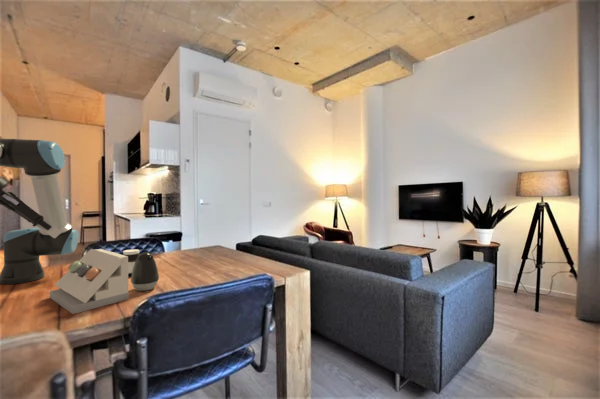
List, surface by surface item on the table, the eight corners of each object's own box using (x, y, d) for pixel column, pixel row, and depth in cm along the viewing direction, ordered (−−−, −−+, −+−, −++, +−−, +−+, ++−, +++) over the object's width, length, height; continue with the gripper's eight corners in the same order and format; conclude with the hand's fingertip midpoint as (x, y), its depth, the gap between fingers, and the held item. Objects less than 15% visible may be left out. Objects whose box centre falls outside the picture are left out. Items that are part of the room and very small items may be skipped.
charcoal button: (74, 276, 108) (74, 264, 108) (88, 274, 111) (88, 262, 111) (78, 278, 105) (78, 266, 105) (93, 275, 109) (92, 263, 109)
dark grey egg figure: (140, 295, 114) (139, 256, 113) (125, 290, 119) (125, 253, 119) (164, 288, 122) (164, 251, 122) (150, 283, 128) (149, 249, 128)
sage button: (66, 272, 113) (66, 261, 113) (80, 270, 116) (80, 259, 116) (70, 274, 110) (70, 262, 110) (84, 272, 114) (84, 260, 114)
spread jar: (144, 274, 143) (144, 250, 143) (120, 279, 134) (120, 254, 134) (131, 270, 150) (131, 247, 150) (107, 275, 140) (107, 251, 140)
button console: (49, 297, 110) (49, 254, 110) (101, 286, 124) (101, 247, 124) (72, 314, 96) (72, 263, 95) (128, 299, 109) (128, 255, 109)
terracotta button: (83, 280, 103) (82, 268, 103) (97, 277, 106) (97, 265, 106) (87, 282, 100) (87, 269, 100) (102, 279, 104) (102, 267, 104)
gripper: (-36, 191, 83) (41, 242, 97) (-29, 191, 75) (53, 246, 89) (-9, 173, 87) (61, 224, 101) (0, 172, 80) (74, 227, 93)
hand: (57, 234), depth 95 cm, fingers closed
